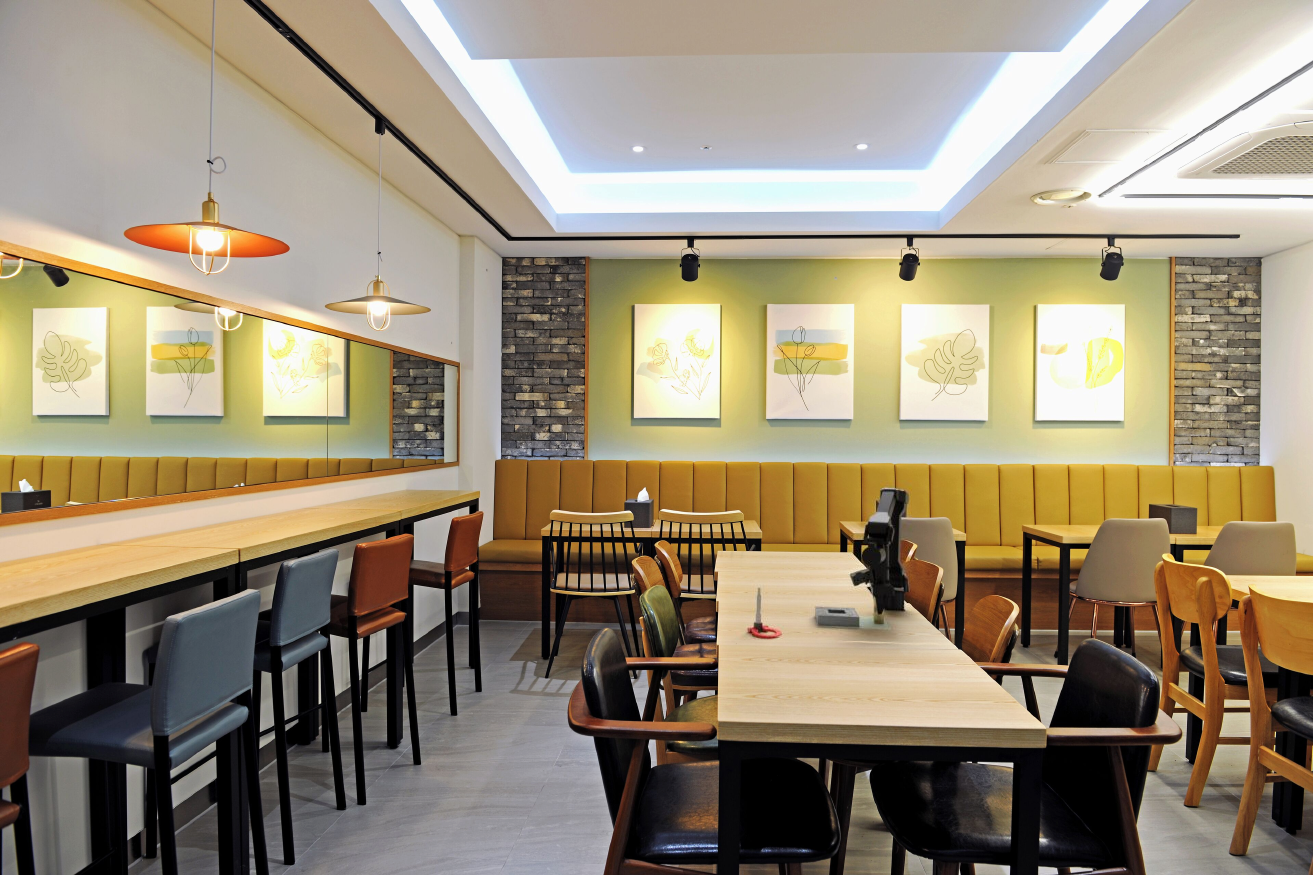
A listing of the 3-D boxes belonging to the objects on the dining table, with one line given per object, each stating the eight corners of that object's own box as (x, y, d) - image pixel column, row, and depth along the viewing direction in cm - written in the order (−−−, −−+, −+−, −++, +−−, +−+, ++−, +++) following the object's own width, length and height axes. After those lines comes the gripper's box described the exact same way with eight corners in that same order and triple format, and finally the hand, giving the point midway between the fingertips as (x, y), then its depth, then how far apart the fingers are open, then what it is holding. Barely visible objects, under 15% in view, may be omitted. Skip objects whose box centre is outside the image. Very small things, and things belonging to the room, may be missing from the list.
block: (854, 617, 229) (854, 607, 229) (859, 626, 217) (859, 616, 217) (815, 615, 231) (815, 606, 231) (818, 625, 219) (818, 615, 219)
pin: (883, 621, 223) (883, 589, 223) (884, 624, 220) (884, 591, 220) (872, 621, 224) (873, 588, 224) (874, 623, 221) (874, 590, 221)
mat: (883, 618, 229) (883, 617, 229) (891, 630, 214) (891, 629, 214) (814, 616, 232) (814, 614, 232) (818, 627, 217) (818, 626, 217)
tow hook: (787, 638, 208) (768, 628, 216) (788, 593, 207) (769, 585, 215) (763, 641, 204) (744, 632, 212) (764, 596, 203) (745, 588, 212)
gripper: (848, 556, 232) (847, 605, 232) (855, 565, 214) (855, 619, 214) (884, 557, 231) (884, 606, 231) (895, 567, 212) (894, 620, 212)
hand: (878, 612), depth 222 cm, fingers closed on pin, 3 cm apart
